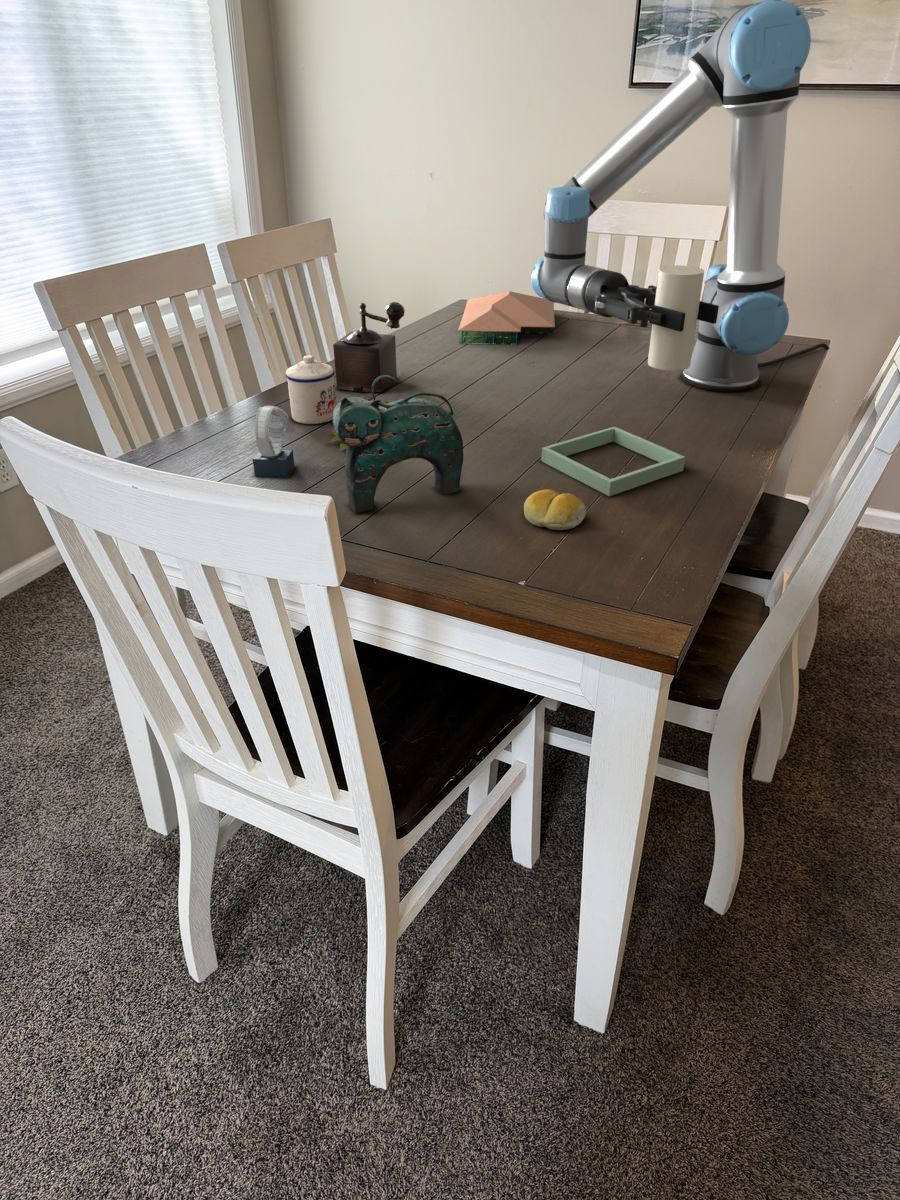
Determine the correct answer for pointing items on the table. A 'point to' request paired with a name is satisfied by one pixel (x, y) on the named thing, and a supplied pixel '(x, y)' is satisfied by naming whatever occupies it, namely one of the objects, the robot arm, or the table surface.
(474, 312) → the house
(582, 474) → the green square frame
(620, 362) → the table surface
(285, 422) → the watch
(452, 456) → the ceramic cat
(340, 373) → the manual coffee grinder
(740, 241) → the robot arm
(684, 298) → the pillar candle
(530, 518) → the bread roll
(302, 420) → the teacup with lid
